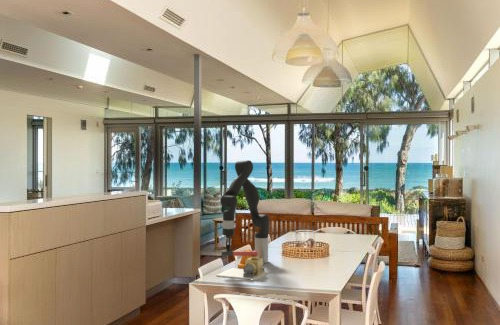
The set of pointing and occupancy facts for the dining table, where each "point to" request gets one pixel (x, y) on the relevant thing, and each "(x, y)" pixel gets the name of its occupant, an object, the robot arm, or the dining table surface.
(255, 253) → the lever
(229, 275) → the base plate
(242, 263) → the bracket
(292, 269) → the dining table surface
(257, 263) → the valve
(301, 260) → the dining table surface
